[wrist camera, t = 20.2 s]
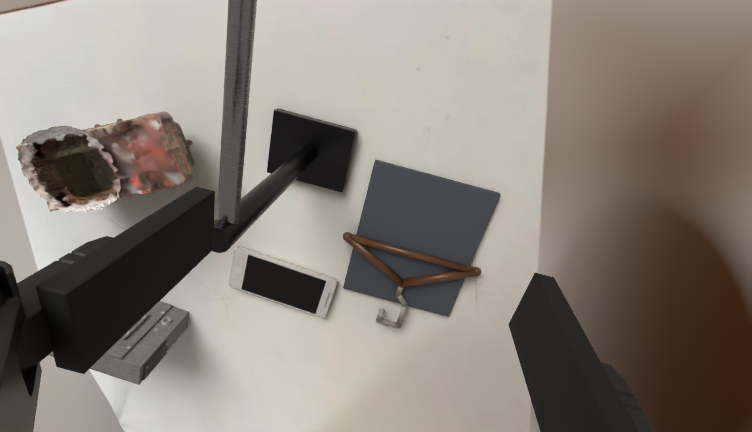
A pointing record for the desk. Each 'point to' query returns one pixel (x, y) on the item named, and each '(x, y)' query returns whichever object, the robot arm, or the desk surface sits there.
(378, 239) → the felt mat
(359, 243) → the hanger
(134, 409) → the desk surface
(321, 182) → the rail stand
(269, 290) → the smartphone
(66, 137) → the decorative box
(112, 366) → the electronic device
